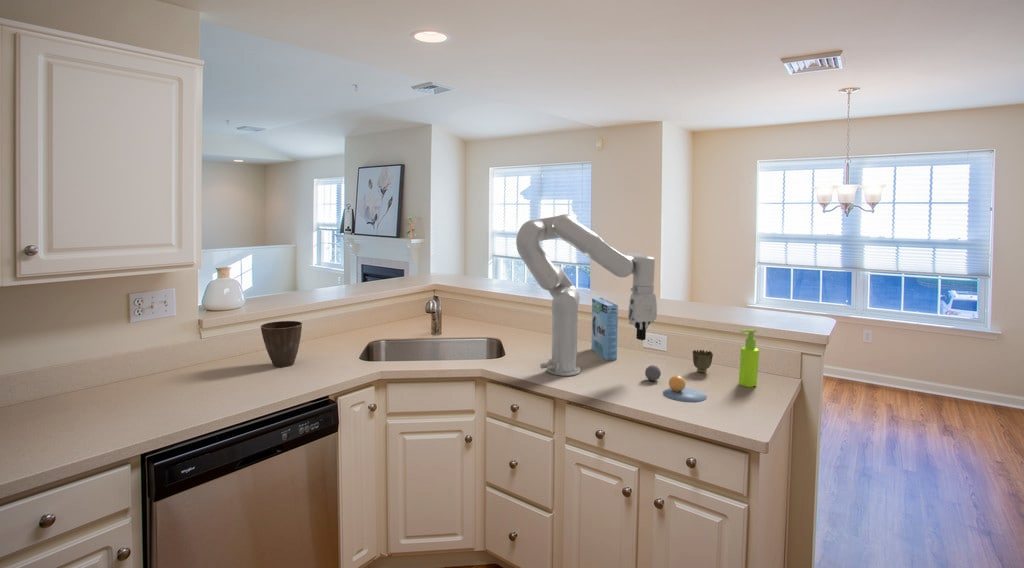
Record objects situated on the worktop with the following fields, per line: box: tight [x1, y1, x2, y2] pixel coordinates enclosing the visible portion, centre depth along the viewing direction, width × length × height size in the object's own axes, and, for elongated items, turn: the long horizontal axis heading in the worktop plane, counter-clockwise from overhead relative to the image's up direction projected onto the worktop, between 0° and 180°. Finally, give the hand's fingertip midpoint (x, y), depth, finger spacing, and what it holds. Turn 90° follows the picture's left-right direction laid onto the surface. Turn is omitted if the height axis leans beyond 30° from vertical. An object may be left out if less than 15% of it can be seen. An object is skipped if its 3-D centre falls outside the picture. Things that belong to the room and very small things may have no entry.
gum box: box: [591, 297, 619, 361], centre depth 237 cm, size 20×5×23 cm, turn 10°
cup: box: [692, 349, 714, 374], centre depth 213 cm, size 8×7×8 cm
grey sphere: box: [644, 364, 662, 382], centre depth 203 cm, size 6×6×6 cm
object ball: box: [668, 375, 686, 392], centre depth 191 cm, size 6×6×6 cm
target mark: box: [662, 387, 708, 403], centre depth 188 cm, size 14×14×1 cm
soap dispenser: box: [738, 328, 760, 388], centre depth 198 cm, size 6×7×20 cm
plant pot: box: [260, 320, 303, 368], centre depth 218 cm, size 15×15×16 cm
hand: (640, 339), depth 206 cm, fingers closed
